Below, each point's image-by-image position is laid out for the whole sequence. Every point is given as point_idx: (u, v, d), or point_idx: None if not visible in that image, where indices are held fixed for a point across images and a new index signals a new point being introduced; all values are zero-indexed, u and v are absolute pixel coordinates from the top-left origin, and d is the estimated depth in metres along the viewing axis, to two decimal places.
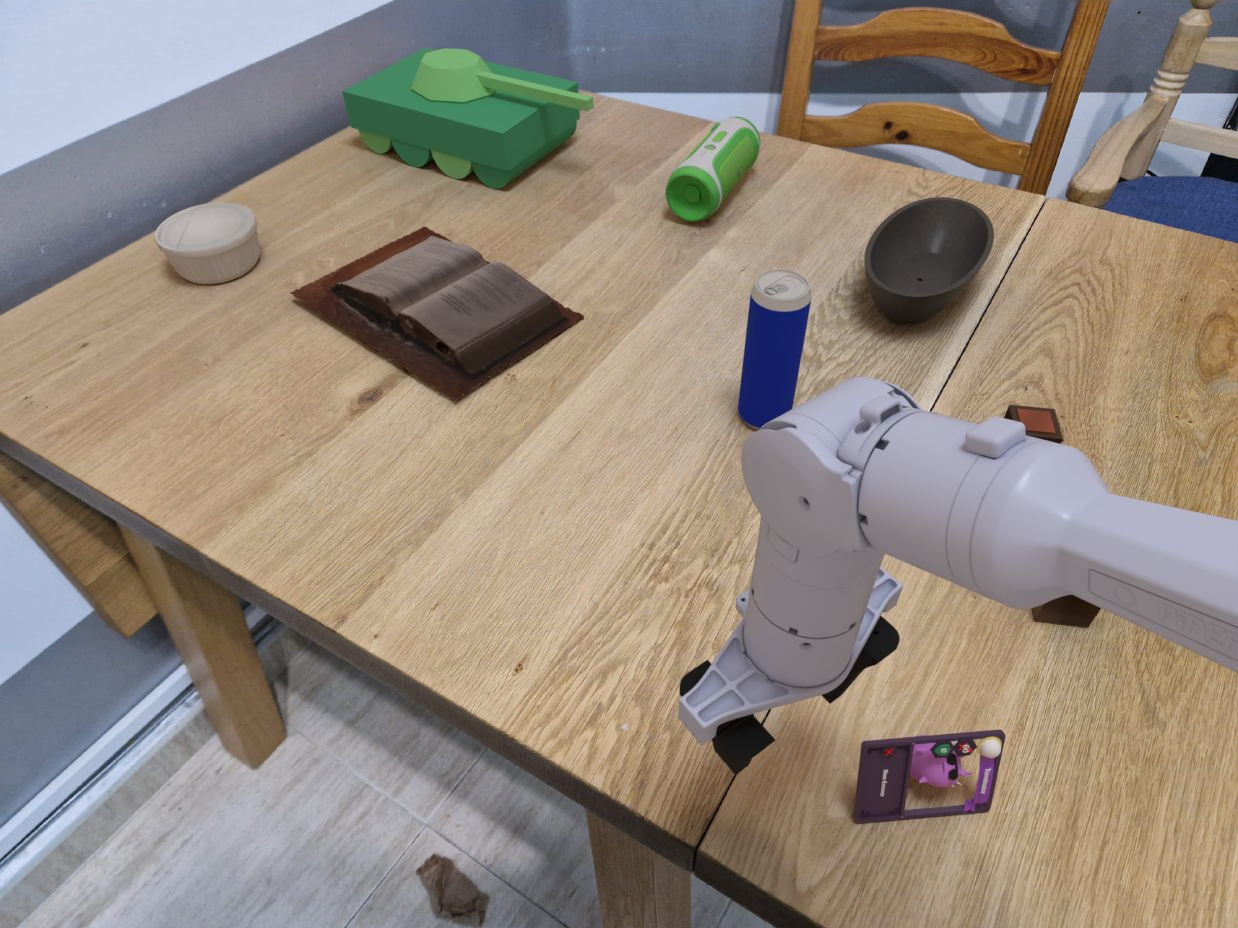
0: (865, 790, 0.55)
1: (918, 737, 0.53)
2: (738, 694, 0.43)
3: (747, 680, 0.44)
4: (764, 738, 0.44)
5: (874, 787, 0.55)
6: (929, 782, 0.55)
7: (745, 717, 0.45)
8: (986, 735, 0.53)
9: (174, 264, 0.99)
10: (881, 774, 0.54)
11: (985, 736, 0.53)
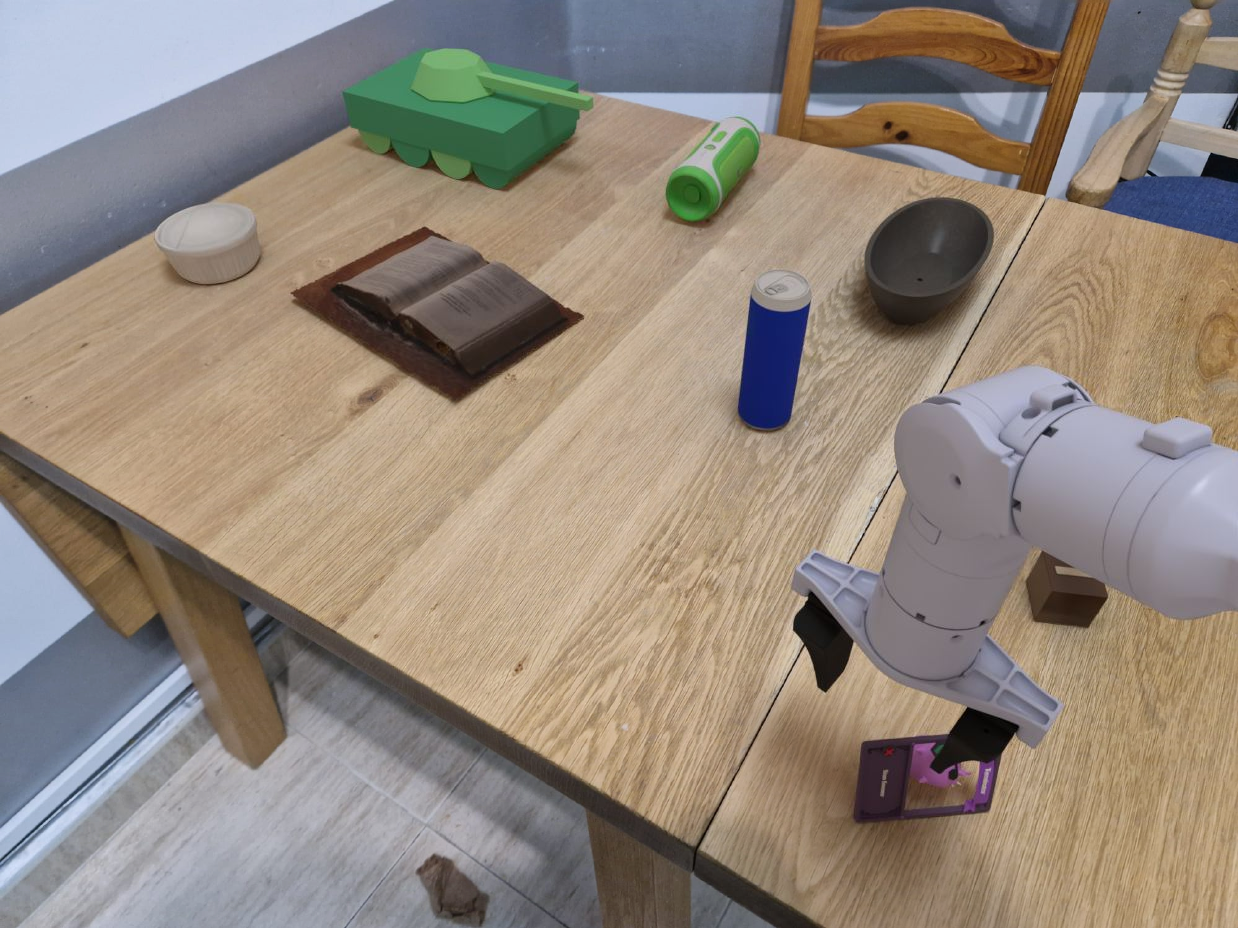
0: (865, 790, 0.55)
1: (918, 737, 0.53)
2: (837, 589, 0.47)
3: (857, 598, 0.47)
4: (819, 639, 0.47)
5: (874, 787, 0.55)
6: (929, 782, 0.55)
7: (832, 620, 0.48)
8: None
9: (174, 264, 0.99)
10: (881, 774, 0.54)
11: None
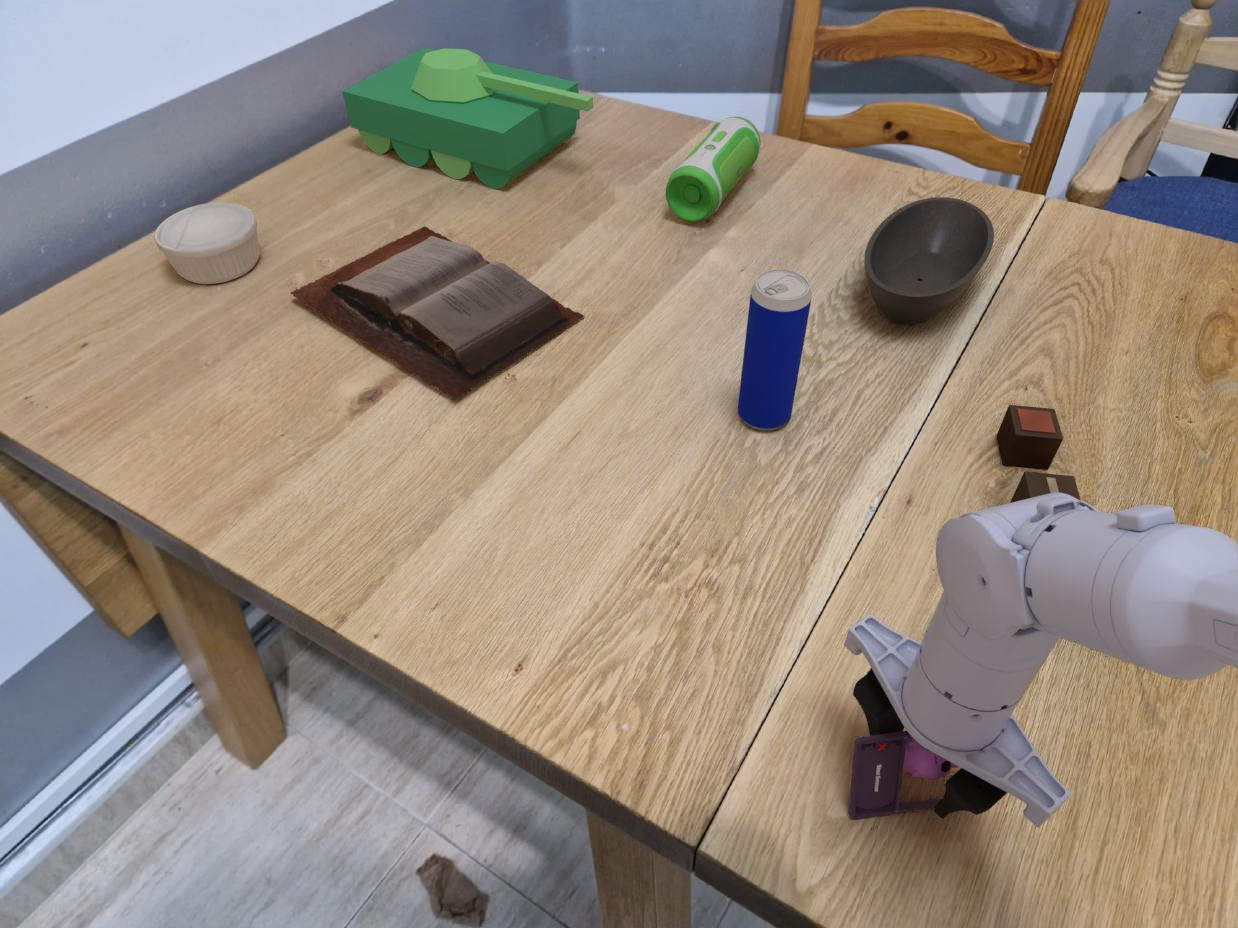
0: (859, 786, 0.55)
1: None
2: (883, 653, 0.53)
3: (900, 664, 0.53)
4: (875, 707, 0.53)
5: (868, 783, 0.55)
6: (922, 775, 0.56)
7: None
8: None
9: (174, 264, 0.99)
10: (874, 769, 0.55)
11: None
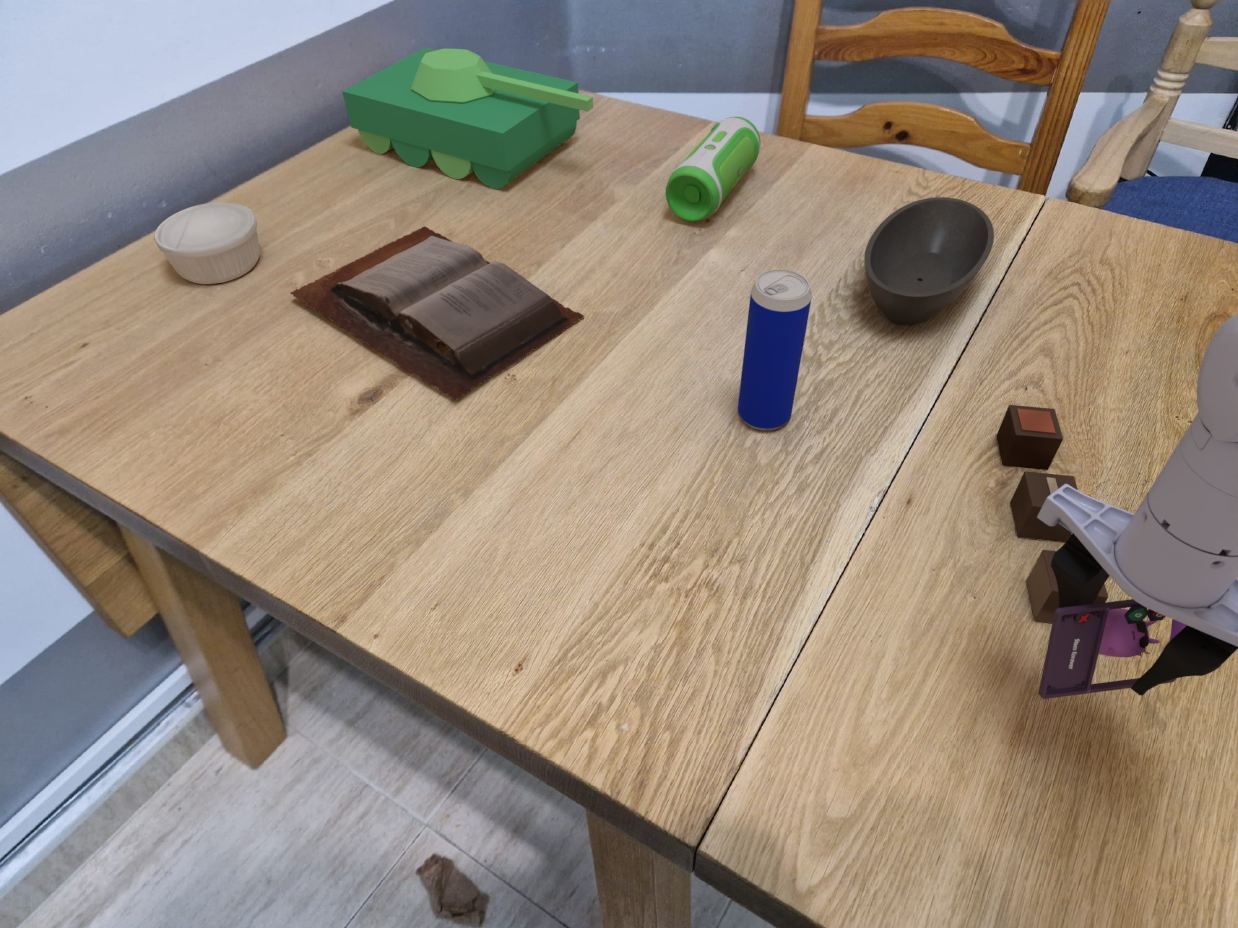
0: (1054, 663, 0.53)
1: (1112, 602, 0.52)
2: (1088, 519, 0.51)
3: (1106, 530, 0.51)
4: (1078, 575, 0.51)
5: (1063, 659, 0.53)
6: (1117, 653, 0.54)
7: (1092, 561, 0.51)
8: None
9: (174, 264, 0.99)
10: (1071, 645, 0.53)
11: None
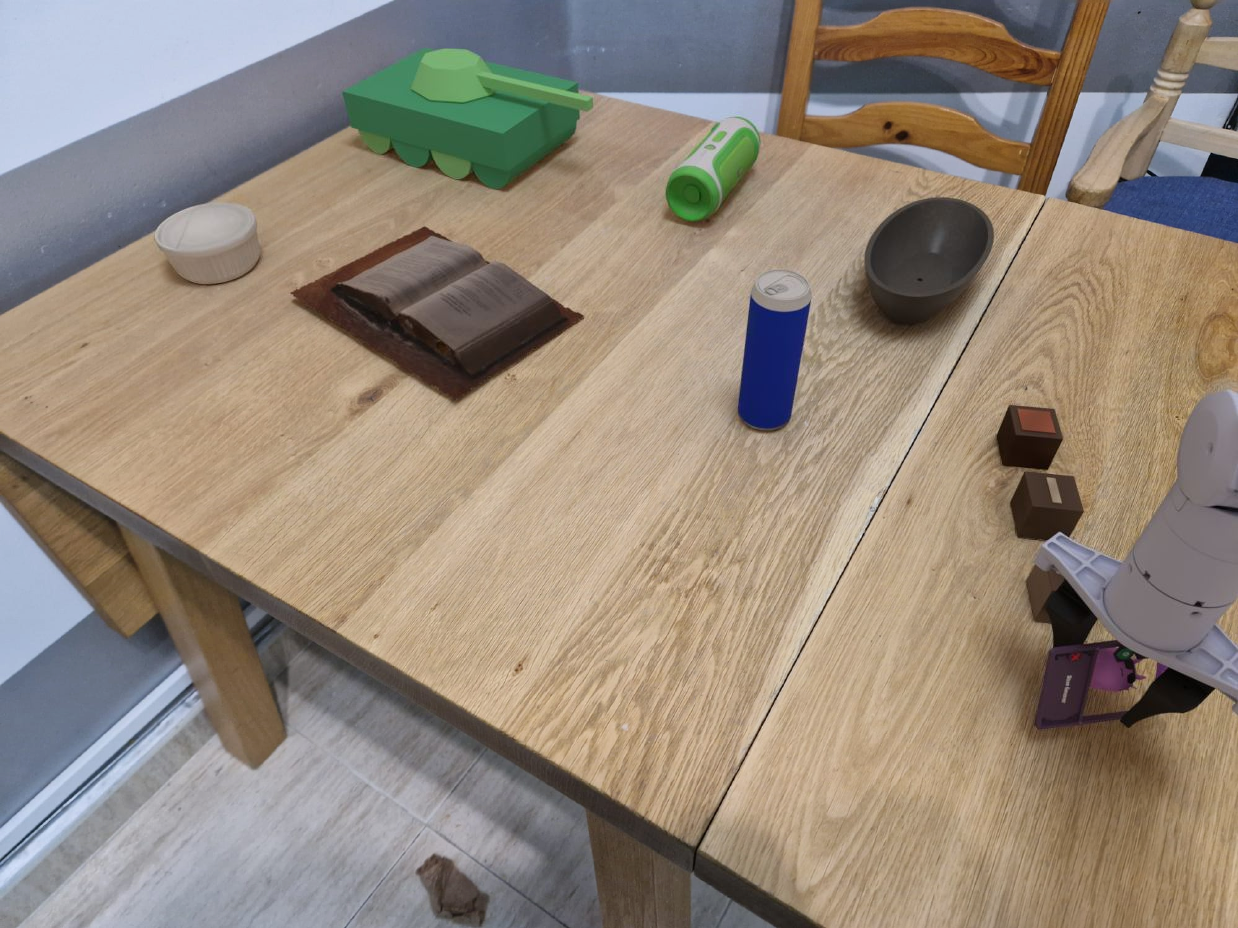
0: (1048, 697, 0.58)
1: (1102, 642, 0.56)
2: (1079, 567, 0.55)
3: (1096, 576, 0.55)
4: (1071, 618, 0.55)
5: (1056, 694, 0.58)
6: (1106, 687, 0.58)
7: (1083, 604, 0.56)
8: None
9: (174, 264, 0.99)
10: (1064, 680, 0.57)
11: None
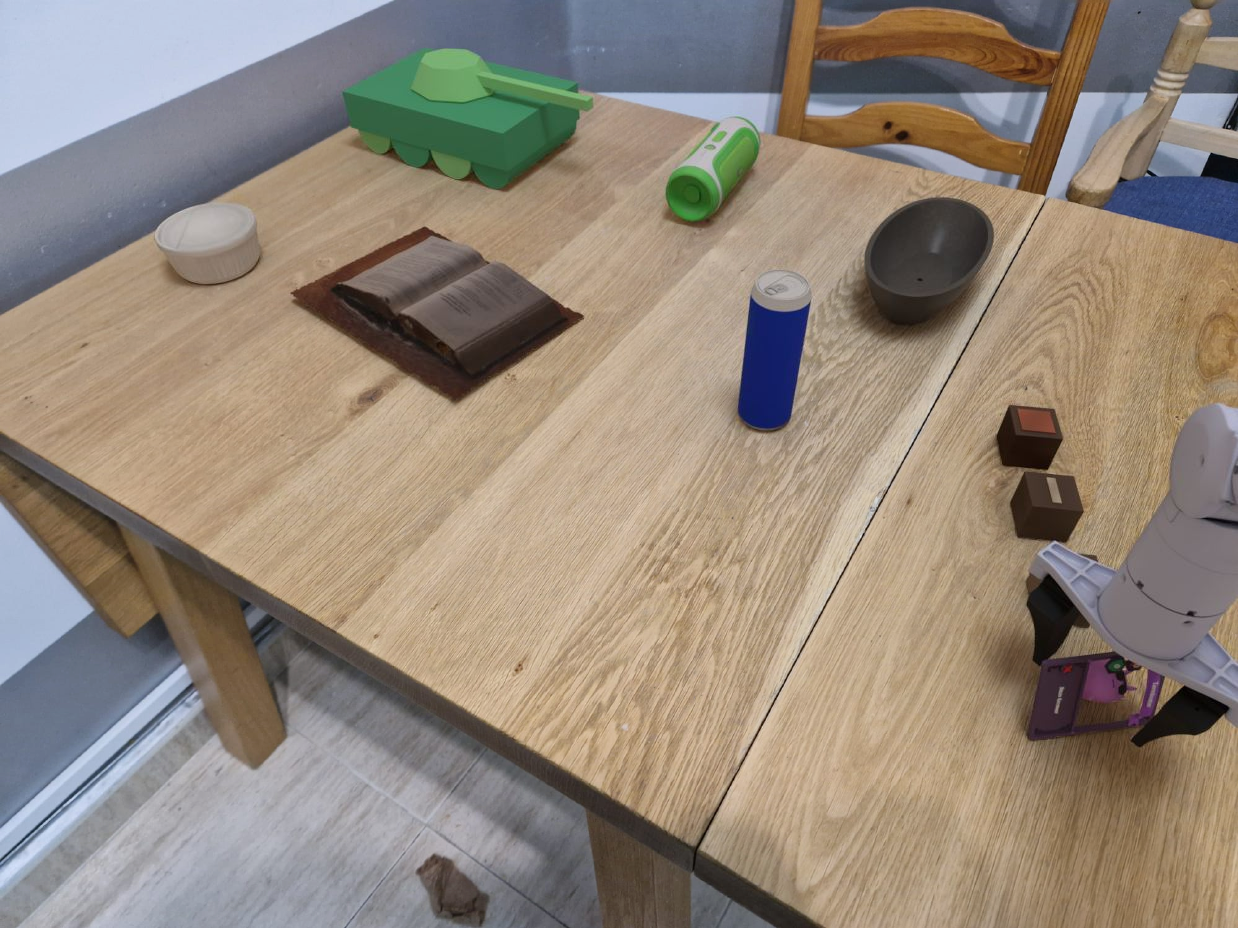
0: (1041, 708, 0.59)
1: (1093, 654, 0.57)
2: (1074, 575, 0.56)
3: (1091, 585, 0.56)
4: (1051, 614, 0.57)
5: (1049, 704, 0.59)
6: (1098, 698, 0.59)
7: (1063, 601, 0.57)
8: None
9: (174, 264, 0.99)
10: (1056, 692, 0.58)
11: None
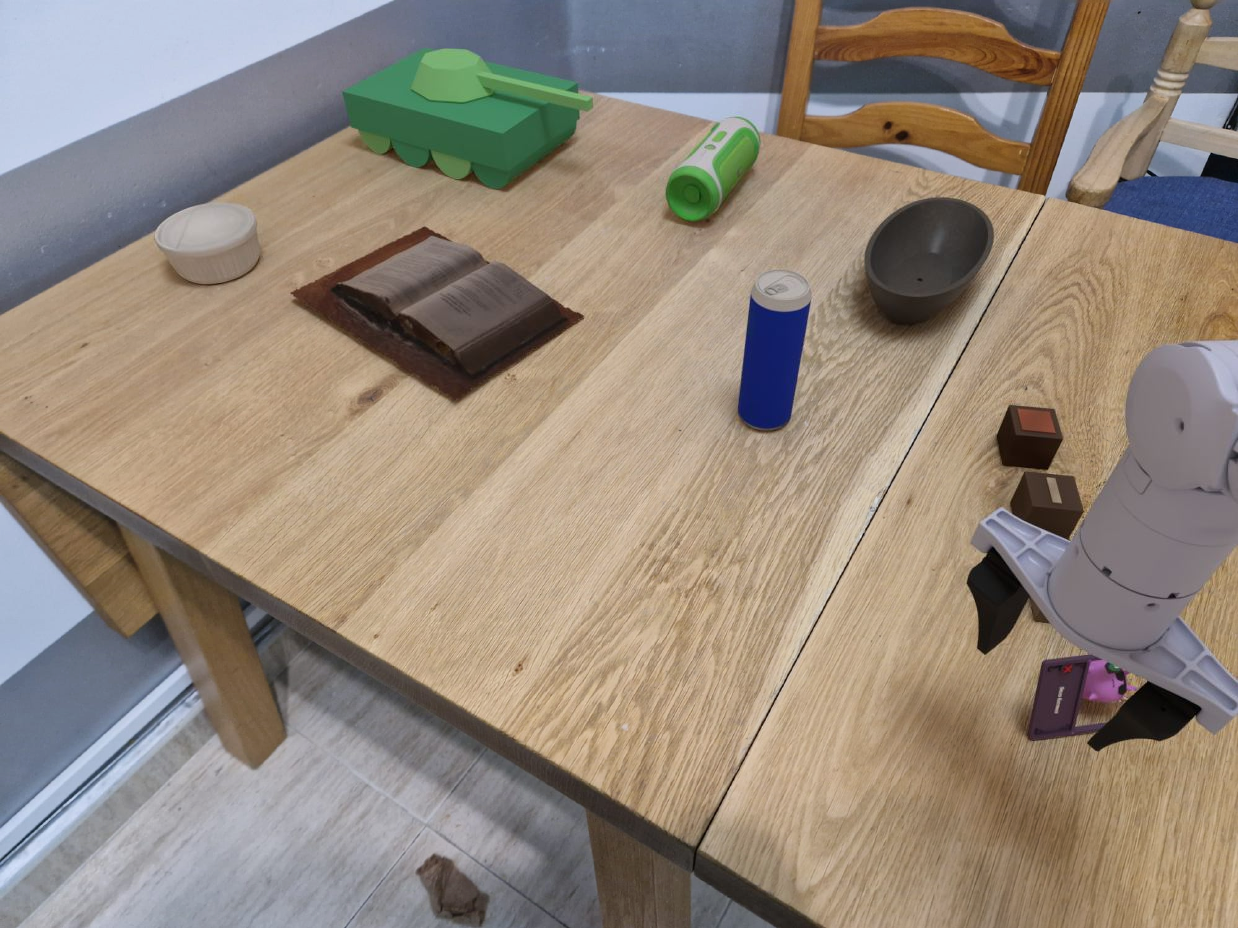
0: (1041, 708, 0.59)
1: None
2: (1021, 548, 0.47)
3: (1041, 560, 0.47)
4: (994, 595, 0.48)
5: (1049, 704, 0.59)
6: (1098, 698, 0.59)
7: (1010, 579, 0.48)
8: None
9: (174, 264, 0.99)
10: (1056, 692, 0.58)
11: None
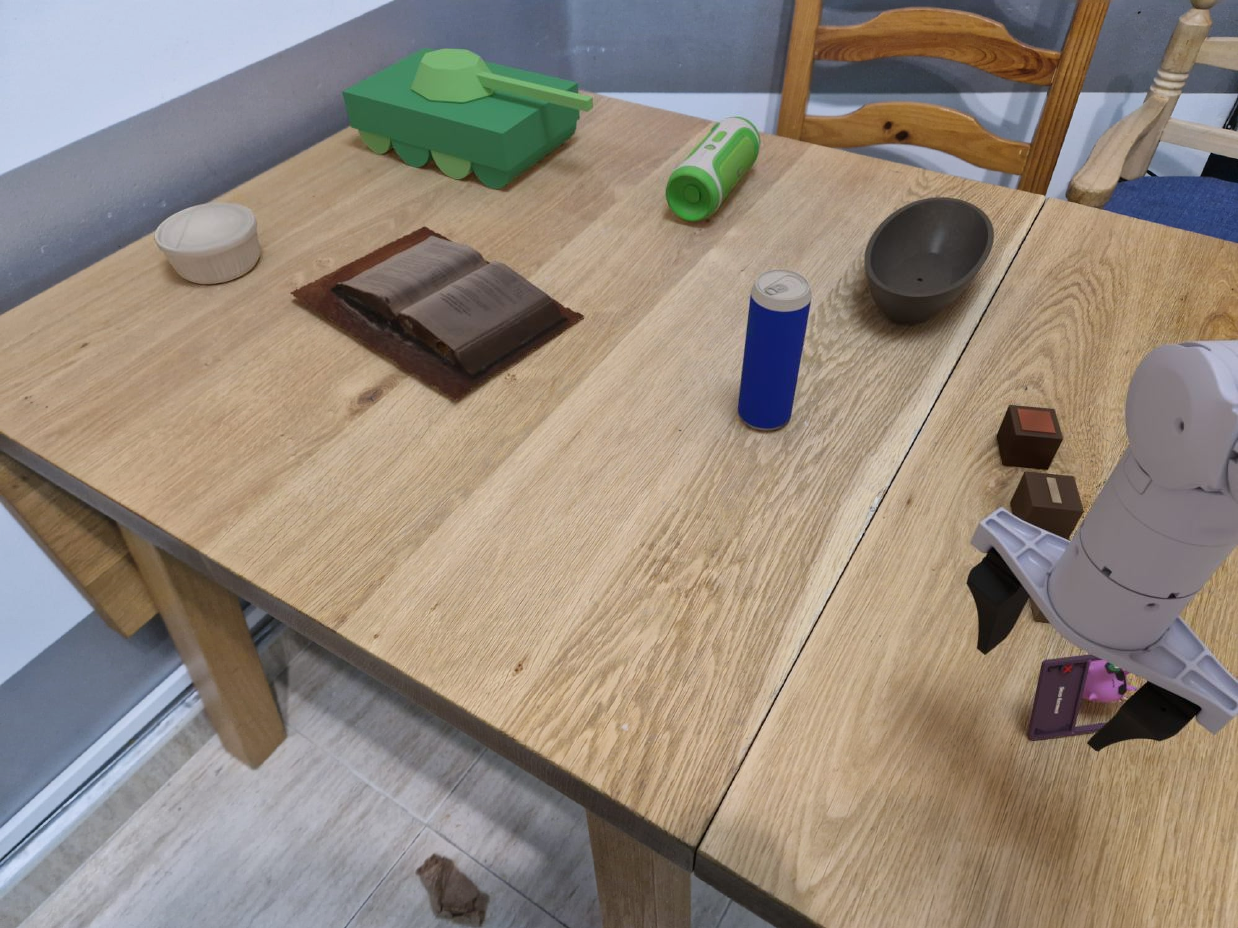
0: (1041, 708, 0.59)
1: None
2: (1021, 548, 0.47)
3: (1041, 560, 0.47)
4: (994, 595, 0.48)
5: (1049, 704, 0.59)
6: (1098, 698, 0.59)
7: (1010, 579, 0.48)
8: None
9: (174, 264, 0.99)
10: (1056, 692, 0.58)
11: None
